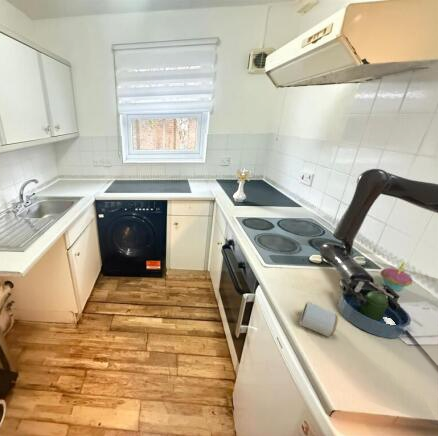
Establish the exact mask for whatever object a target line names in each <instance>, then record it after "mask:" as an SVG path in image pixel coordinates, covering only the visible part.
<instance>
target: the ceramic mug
mask: <svg viewBox="0 0 438 436" xmlns="http://www.w3.org/2000/svg"><path fill="white" fill-rule="evenodd" d="M338 322H339V316H338V315H337V314H336V313H335V312H333V311H331V310H329V309H327V308H325V307H322V306H319V305H317V304H315V303H312V302H310V301H306V303H305V305H304V306H303V310H302V313H301V316H300V320H299V325H300V326H301V327H304V328H306V329H309V330H311V331H314V332H316V333H318V334H321V335H323V336H327V337H331V336H333V335H334V334H335V332H336V329H337V326H338Z"/></svg>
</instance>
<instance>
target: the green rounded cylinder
mask: <svg viewBox="0 0 438 436" xmlns="http://www.w3.org/2000/svg"><path fill="white" fill-rule="evenodd" d="M364 298H365V299H366V301H367V302H366V304H365V306H364V305H360V307H359V309H358V312H359V313H361V314H362V315H364V316H366V317H368V318H370V319H373V320H375V321H378V322H380V321H381V319H382V317H383V315H384V313H385V311H386V309H387V307H388V299H387V298H388V297H387V296H386V295H384V294H383V293H382V292H381V291H371V292H369V293H368V294H367V295H365V296H364Z"/></svg>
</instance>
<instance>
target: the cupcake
mask: <svg viewBox="0 0 438 436" xmlns="http://www.w3.org/2000/svg"><path fill="white" fill-rule="evenodd" d="M405 264H406V263H405V262H403V263H401V265H400V266H399V268H394V267H387V268H383V269H381V271H380V273H379V275H380V276H381V277H382V280H383V281H382V282H383V283H382V284H383V287H384V286H385V285H387V286H389V287H390V288H391V289H392V290H393V291H395V292H399V291H401V290H402V289H403V288H405V287H408V286H411V285H412V283H413V279H412V277H411V275H410V274H408V273H407V272H405V271H403V268H404V266H405Z"/></svg>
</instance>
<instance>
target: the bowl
mask: <svg viewBox="0 0 438 436" xmlns="http://www.w3.org/2000/svg"><path fill="white" fill-rule="evenodd" d="M352 290H354V289H352ZM361 294H362V293H361ZM362 295H363V296H365V295H364V294H362ZM360 305H361V304H360V303H358V302H357V300H356V299H355V298H354V297H352V295H349V296H348V295H345V293H344V292H343V291H342V293H341V295H340V298H339V300H338V303H337V309H338V311H339V312H340V314H341V315H342V317H343V318H345V319H346V320H347V321H348V322H349V323H351V324H352V325H354V326H355V327H357V328H359V329H361V330H363V331H364V332H367V333H369V334H373V335H375V336H378V337H382V338H387V339H399V338H400V337H402V336H404V335H405V333H406V332H407V330H408V328H409V326H410V324H411V322H412V318H411V316H410V313H408V312H407V311H406V310H405V309H404V307H402V306H400V308H399V309H398V311H394V310H393V309H392V308H391V307H390V306H389V305H388V307H387V309H386V311H385V313H384V315H383V317H387V318H391V319H392V320H393V321H394V322H395V324H396V325H390V324H386V322H385V321H384V319H383V317H382V319H381V321H380V322H378V321H375V320H373V319H370V318H368V317H366V316H364V315H362V314H361V313H359V312H358V309H359V307H360Z"/></svg>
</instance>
